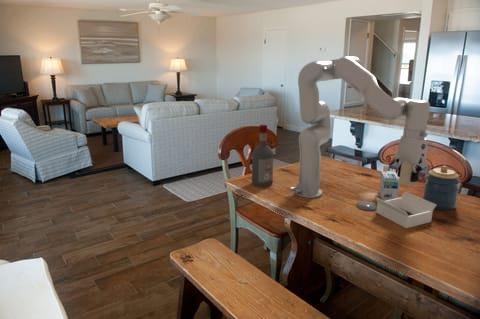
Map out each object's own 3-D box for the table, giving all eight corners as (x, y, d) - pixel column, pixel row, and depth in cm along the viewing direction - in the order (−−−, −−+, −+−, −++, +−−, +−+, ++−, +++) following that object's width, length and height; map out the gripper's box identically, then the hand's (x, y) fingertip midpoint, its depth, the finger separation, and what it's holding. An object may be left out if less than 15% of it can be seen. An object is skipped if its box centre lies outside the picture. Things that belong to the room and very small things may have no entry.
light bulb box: (397, 201, 161) (400, 178, 158) (381, 200, 162) (384, 177, 159) (393, 192, 171) (395, 171, 168) (378, 191, 172) (380, 170, 169)
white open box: (402, 229, 136) (405, 211, 134) (373, 213, 149) (375, 197, 147) (433, 221, 142) (436, 204, 140) (402, 206, 156) (405, 191, 154)
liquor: (275, 184, 182) (276, 125, 173) (260, 188, 177) (261, 127, 168) (264, 179, 189) (264, 122, 180) (249, 183, 184) (250, 124, 175)
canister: (416, 198, 164) (422, 161, 159) (445, 198, 164) (452, 161, 159) (430, 210, 152) (436, 170, 147) (461, 211, 151) (469, 170, 146)
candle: (402, 179, 146) (405, 156, 143) (416, 183, 142) (420, 159, 139) (396, 183, 142) (400, 158, 139) (410, 187, 138) (414, 161, 135)
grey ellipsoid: (365, 211, 151) (366, 210, 151) (352, 204, 158) (352, 203, 158) (380, 208, 154) (380, 206, 154) (367, 201, 161) (367, 200, 161)
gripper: (441, 137, 130) (433, 184, 135) (403, 128, 145) (397, 171, 150) (426, 139, 127) (418, 187, 132) (389, 129, 142) (383, 173, 147)
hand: (407, 178), depth 141 cm, fingers closed on candle, 5 cm apart
